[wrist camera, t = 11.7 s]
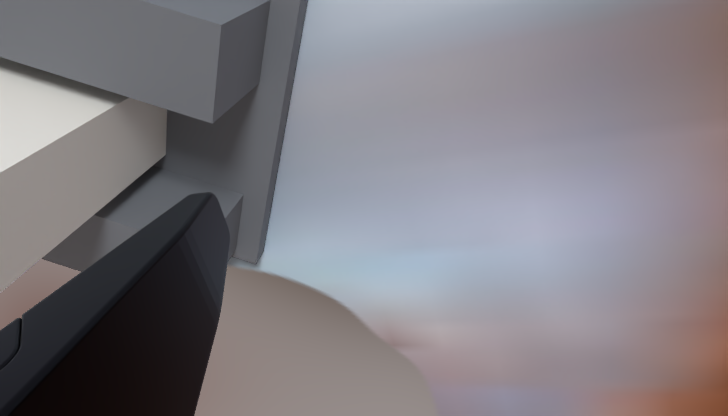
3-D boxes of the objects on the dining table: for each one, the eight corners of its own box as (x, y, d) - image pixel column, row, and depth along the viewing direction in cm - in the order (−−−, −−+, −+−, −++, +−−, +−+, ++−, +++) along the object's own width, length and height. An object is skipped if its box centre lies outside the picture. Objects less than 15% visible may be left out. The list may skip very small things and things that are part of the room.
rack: (310, -12, 18) (258, 17, 14) (263, 251, 25) (218, 325, 20) (-66, -127, 18) (-227, -132, 14) (-14, 162, 25) (-114, 217, 21)
